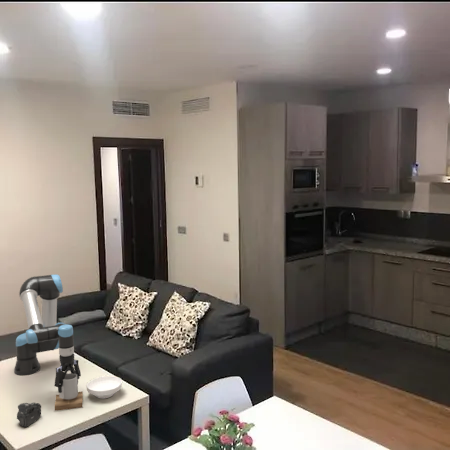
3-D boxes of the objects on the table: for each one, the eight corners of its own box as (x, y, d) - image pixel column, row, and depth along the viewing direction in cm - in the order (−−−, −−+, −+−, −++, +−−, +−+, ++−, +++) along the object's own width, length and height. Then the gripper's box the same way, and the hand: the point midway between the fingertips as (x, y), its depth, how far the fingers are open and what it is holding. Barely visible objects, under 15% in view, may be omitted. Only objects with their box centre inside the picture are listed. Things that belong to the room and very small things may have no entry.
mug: (78, 397, 258) (77, 378, 256) (62, 400, 255) (60, 381, 253) (77, 388, 269) (76, 369, 267) (61, 391, 266) (60, 372, 264)
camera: (23, 415, 249) (22, 396, 248) (43, 414, 249) (42, 396, 248) (13, 429, 236) (12, 409, 234) (34, 428, 236) (33, 408, 235)
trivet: (56, 399, 266) (56, 394, 266) (82, 395, 270) (82, 391, 270) (54, 411, 253) (54, 406, 252) (82, 407, 256) (82, 402, 256)
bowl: (129, 390, 276) (128, 378, 275) (110, 405, 258) (109, 393, 257) (99, 385, 283) (99, 373, 282) (79, 400, 264) (78, 388, 263)
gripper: (55, 362, 247) (57, 404, 249) (86, 348, 266) (88, 387, 268) (45, 359, 251) (47, 400, 253) (77, 346, 269) (78, 384, 272)
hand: (68, 394), depth 261 cm, fingers closed on mug, 9 cm apart
